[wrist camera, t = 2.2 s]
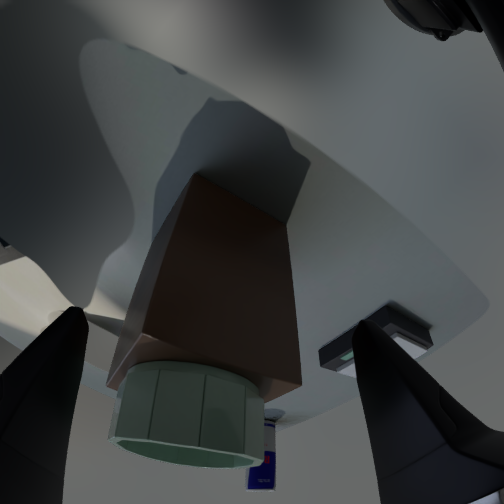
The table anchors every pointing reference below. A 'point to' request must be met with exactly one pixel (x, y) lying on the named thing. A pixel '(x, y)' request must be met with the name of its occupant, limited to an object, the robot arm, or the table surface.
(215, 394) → the bowl
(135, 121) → the table surface
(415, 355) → the scale
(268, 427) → the beverage can
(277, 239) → the stand
